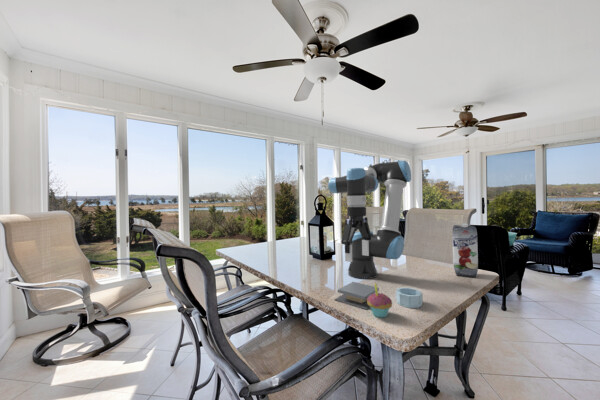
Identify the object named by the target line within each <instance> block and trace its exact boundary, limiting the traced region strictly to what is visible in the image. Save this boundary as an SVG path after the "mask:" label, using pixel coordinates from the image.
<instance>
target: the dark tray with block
mask: <svg viewBox="0 0 600 400" xmlns="http://www.w3.org/2000/svg"><path fill="white" fill-rule="evenodd" d="M334 301H336V302H339V303H342V304H346V305H349V306H353V307H354V308H355V307H356V308H358V309H362V310H364V311H366V310H368V309H371V307H370V306H369V305H368V304H367V299H365V300H364V299H360V298H356V297H353V296H349V295H346V294H342V295H340V296H338V297H336V298H335V299H334Z"/></svg>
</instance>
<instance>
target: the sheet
mask: <svg viewBox="0 0 600 400" xmlns="http://www.w3.org/2000/svg"><path fill="white" fill-rule="evenodd" d="M379 291H380V289H379V287H378V286H377V292H378V293H379ZM337 293H340V294H342V295H343V294H346V295H349V296H353V297H356V298H360V299H364V300H365V299H367V298H368V297H369V295H371V294H375V293H376V291H375V286H373V285H368V284H364V283H360V282H356V281H352V282H350V283H348V284H346V285H344V286H342V287H340V288H338V289H337Z"/></svg>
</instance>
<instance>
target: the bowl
mask: <svg viewBox="0 0 600 400" xmlns="http://www.w3.org/2000/svg"><path fill="white" fill-rule="evenodd" d="M423 294H424V293H423V292H422V291H421V290H419V289H417V288H413V287H406V286H405V287H398V288H397V289H395V300H396V303H397V304H398V305H399V306H401V307H404V308H408V309H419V308H421V307H422V306H423V303H424V300H423V299H424V296H423Z"/></svg>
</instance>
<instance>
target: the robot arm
mask: <svg viewBox="0 0 600 400" xmlns="http://www.w3.org/2000/svg"><path fill="white" fill-rule="evenodd" d="M411 180H412V171H411V167H410V164H409V163H408V161H406V160H398V161H391V162H379V163H376V164H373V165H369V166H367V167H364V168H363V167H354V168H349V169H347V171H346V175H344V176H339V177H337V176H336V177H332V178H330V179H329V181H328V184H327V185H328V186H327V187H328V190H329V192H331V193H332V194H347V195H346V204H347V205H346V206H348V207H347V211H346V213H347V216H348V217H349V218H346V219H345V221H344V227H343V232H342V237H341V241H340V243H341V244H342V245H344V260H345V261H344V262H348V263H349V267H348V270H347V275H349V276H350V277H352V278H357V279H373V278H376V277H377V276H378V270H377V267H376V264H375V262H374V258H381V259H387V260H399V259H400V258H401V256H402V255H403V252H404V248H405V238H404V237H403V236H402V234H401V233H402V232H401V231H399V227H400V218H401V217H400V216H401V210H402V209H401V208H402V199H403V192H404V188H406V187H407V184H408V183H410V182H411ZM379 184H383V185H384V186H385V187H386V188H385V194H384V200H383V201H384V202H383V209H382V216H381V224H380V228H378V229H377V230H376V234H375V233H374V232H373V231H372V230H370V226H369V223H368V217H367V207H366V205H367V198H366V197H367V196H366V195H367V194H369V193H373V192H375V191H376V190H377V189H378V187H379ZM365 216H366V217H365ZM356 231H357V232H356Z"/></svg>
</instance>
